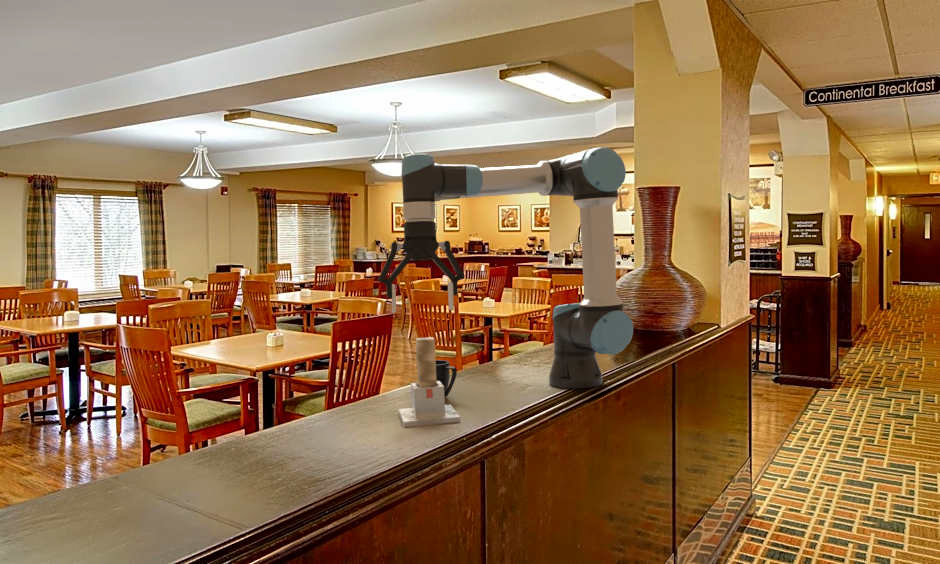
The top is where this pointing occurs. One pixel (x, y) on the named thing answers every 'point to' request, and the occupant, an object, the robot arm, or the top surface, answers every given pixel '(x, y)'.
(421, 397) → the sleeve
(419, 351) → the post
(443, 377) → the mug
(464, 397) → the top surface
